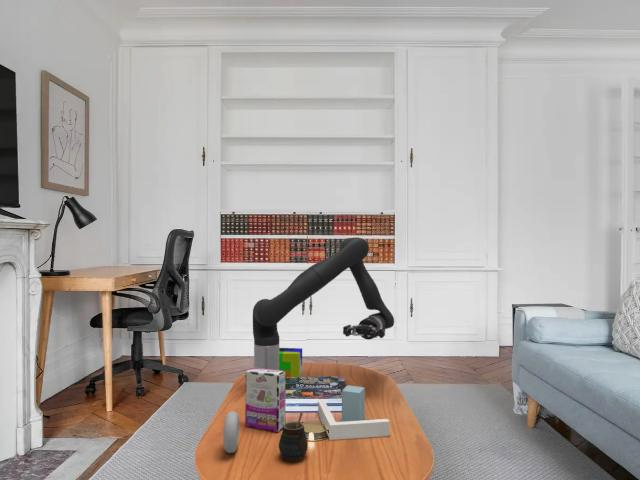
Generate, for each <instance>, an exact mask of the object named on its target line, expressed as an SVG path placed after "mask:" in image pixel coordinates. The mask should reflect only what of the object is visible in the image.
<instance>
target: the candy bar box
mask: <svg viewBox="0 0 640 480" xmlns="http://www.w3.org/2000/svg"><path fill="white" fill-rule="evenodd" d="M244 403H245V413H244V415H245V422H244V423H245V427H246V428H250V429H255V430H261V431H263V430H264V431H269V432H275V433H279V432H280V431H283V424H285V423H286V378H285V371H280V370H271V369H261V368H254V367H252V368H250V369H248V370H246V371H245V402H244Z"/></svg>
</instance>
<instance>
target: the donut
mask: <svg viewBox="0 0 640 480" xmlns="http://www.w3.org/2000/svg"><path fill="white" fill-rule="evenodd" d="M239 438H240V416H239V413H237V412H236V411H233V410H231V411H229V412H227V414H226V416H225V418H224V425H223V441H222V443H223V450H224V451H225V452H227V454H232V453H235V451H237V449H238V445H239V440H240V439H239Z"/></svg>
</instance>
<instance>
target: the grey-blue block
mask: <svg viewBox="0 0 640 480" xmlns="http://www.w3.org/2000/svg"><path fill="white" fill-rule="evenodd" d="M365 403H366V389H365V387H363V386H357V385H349V384H348V385H346V386H345V387H344V388H343V389H342V391H341V419H342V422H346V421H362V420H365V419H366V415H365V413H366V411H365V410H366V408H365V407H366V404H365Z"/></svg>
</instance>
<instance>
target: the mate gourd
mask: <svg viewBox="0 0 640 480" xmlns="http://www.w3.org/2000/svg"><path fill="white" fill-rule="evenodd" d="M303 414H304V413H303V412H300V413H299V417H298V420H297V421H289V422H287V421H286V422H285V424H283V429H282V432H281V434H280V438H279V442H278V449H279V453H280V456H281V457H282V458H283V459H284V460H286V461H288V462H297V461H299V460H301V459H303V457H305V456H306V454H307V451H308V446H309V445H308V444H309V443H308V440H307V439H308V438H307V435H306V432H305V425H304V423H303V422H301V420H302V416H303Z"/></svg>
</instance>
